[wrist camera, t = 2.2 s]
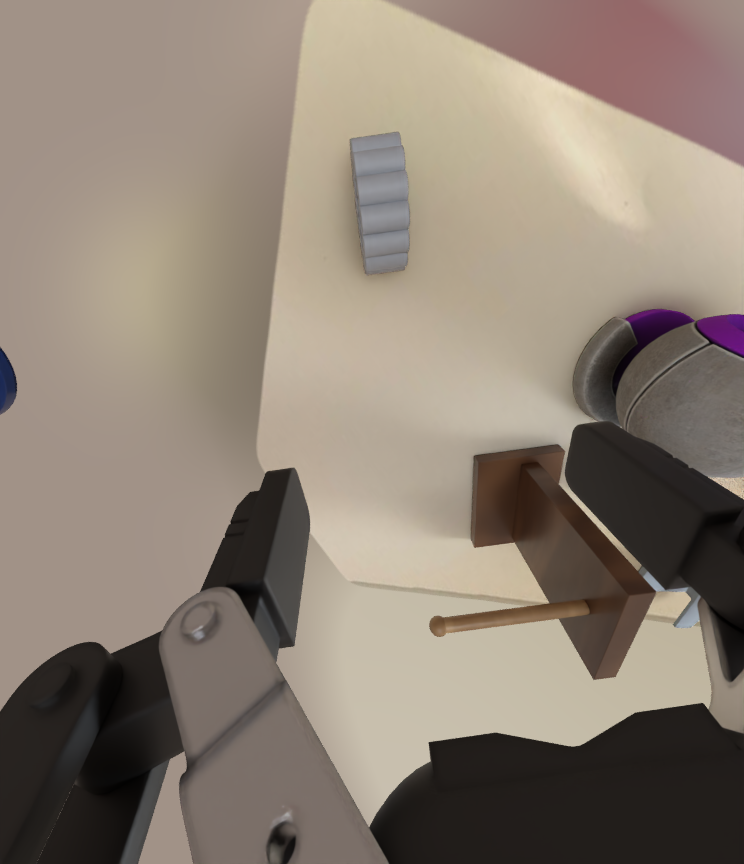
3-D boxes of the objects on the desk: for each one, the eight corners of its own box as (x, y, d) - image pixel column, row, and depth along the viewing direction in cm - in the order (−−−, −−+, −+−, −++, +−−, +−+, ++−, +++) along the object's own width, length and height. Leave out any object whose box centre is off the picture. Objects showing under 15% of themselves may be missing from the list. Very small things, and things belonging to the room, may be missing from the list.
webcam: (726, 309, 32) (993, 347, 18) (659, 425, 38) (824, 516, 25) (603, 296, 30) (796, 328, 17) (554, 418, 36) (669, 510, 23)
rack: (558, 444, 38) (705, 577, 22) (542, 529, 45) (646, 678, 29) (400, 465, 38) (435, 612, 22) (408, 547, 45) (439, 705, 29)
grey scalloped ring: (363, 273, 28) (368, 278, 21) (349, 155, 24) (349, 116, 18) (397, 268, 28) (413, 272, 21) (389, 150, 24) (404, 108, 17)
